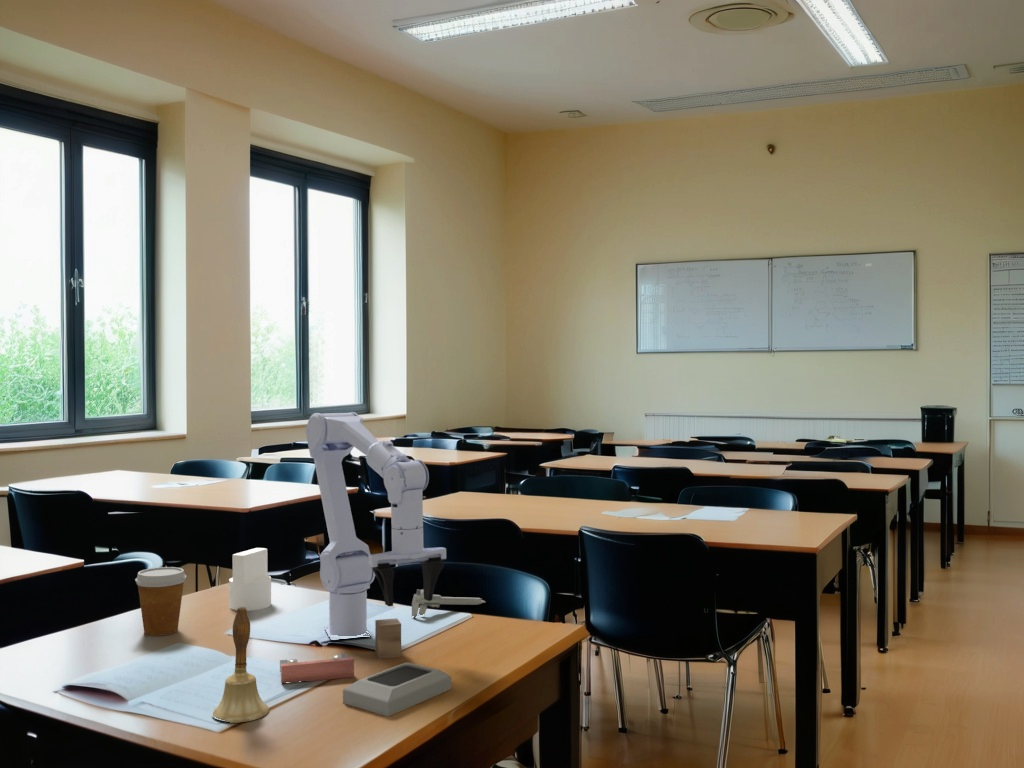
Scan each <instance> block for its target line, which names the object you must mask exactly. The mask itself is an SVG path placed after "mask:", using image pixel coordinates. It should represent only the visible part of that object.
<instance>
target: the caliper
mask: <svg viewBox="0 0 1024 768" xmlns="http://www.w3.org/2000/svg"><path fill="white" fill-rule="evenodd" d="M485 603H486V600H483V598H480V597H465V596H464V597H462V596H461V597H459V596H458V597H457V596H456V597H454V596H453V597H452V596H442V595H440V594H433V597H432V601H428V600H425V599H424V589H423V588H422V589H420V588H419V589H416V593H414V594H413V598H412V601H411V617H412V616H414V617H416V616H417V617H418V615H419V614H420V615H423V614H424V615H425V613H426V611H427V609H428V607H430V608H433V609H435V608H437V609H439V608H440V606H441V605H463V606H464V605H465V606H477V605H481V604H485Z"/></svg>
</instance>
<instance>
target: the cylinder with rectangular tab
mask: <svg viewBox="0 0 1024 768" xmlns="http://www.w3.org/2000/svg"><path fill="white" fill-rule="evenodd" d="M228 581H229V582H228V585H229V586H228V587H229V589H228V590H229V591H228V594H229V595H228V596H229V598H228V599H229V600H228V601H229V603H228V604H229V605H228V607H229V609H231V610H235V611H237V609H238V608H240V607H245V608H246V611H247V612H248V611H259V610H263V609H267V608H269V607H271V605H272V577H271V575H268V548H265V547H255V548H251V549H248V550H244V551H240V552H236V553H234V554H232V577H231V578H229V579H228Z"/></svg>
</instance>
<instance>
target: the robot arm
mask: <svg viewBox="0 0 1024 768" xmlns="http://www.w3.org/2000/svg"><path fill="white" fill-rule="evenodd" d="M363 419H364V418H363V417H362V416H359V414H358V413H357V412H354V411H349V412H335V413H334V412H332V413H331V412H330V413H320V412H313V414H311V415H310V417H309V418H308V421H307V425H306V427H305V436H306V442H307V446H308V451H309V455H310V457H311V459H313V462H314V467H315V472H316V477H317V483H318V488H319V493H320V496H321V497H320V499H321V502H322V503H321V504H322V508H323V513H324V519H325V522H326V523H325V524H326V528H327V529H326V530H327V533H328V538H329V543H328V545H326V547H325V548H324V549H323V551H322V552H321V553H320V554H319V562H320V564H319V565H320V568H319V577H320V582H321V584H322V585H323V587H324V588H325V589H326V591H328V592H329V600H328V603H329V605H328V607H329V608H328V610H329V611H328V615H329V616H328V617H329V618H328V620H329V622H328V625H325V626H324V627H323V628H325V629H324V631H325V630H326V631H325V633H326V632H327V633H326V635H327V634H328V635H329V636H331V635H338V636H357V635H361V634H364V633H366V634H367V635H366V634H365V635H363V636H371V637H372V633H371V632H370V631H369V629H368V627H367V623H368V622H367V621H368V619H367V617H368V616H367V615H368V613H367V611H368V609H367V608H368V607H367V605H368V604H367V603H368V602H367V600H368V598H367V597H368V593H367V591H368V589H371V584H372V583H373V582H374V580H375V578H376V579H377V580H378V583H379V586H380V588H381V591H382V595H383V599H384V605H386V606H388V607H393V606H394V577H395V571H396V570H395V569H394V568H392V566H391V565H398V564H406V563H414V562H415V563H416V562H420V565H421V572H422V578H423V590H424V599H425V600H428V601H432V597H433V595H434V591H435V587H436V584H437V581H438V579H439V576H440V573H441V572H442V570H443V568H444V560H447V548H446V547H442V546H441V547H440V546H439V547H424V516H423V515H424V510H423V509H424V503H423V502H424V501H423V499H424V498H423V497H424V496H423V491H425V490H426V489H427V487H428V484H429V483H430V482H429V481H430V476H429V475H430V473H429V469H428V467H427V466H426V463H424V462H423V460H421V459H414V460H413V459H411V458H410V459H409V457H408V456H407V455H406V454H405V453H403V452H401V451H400V450H398V448H396V447H395V446H394V443H393V442H392V441H391V440H378V439H377V438H376V437H375V435H373V434H372V433H371V432H370V431H369V430H368V429H367V427H365V426H364V420H363ZM354 448H356V449H357V450H358V451H359V452H361V453H362V454H364V455H365V456H366V458H365V460H366V463H367V465H368V466H369V467H370V468H371V469H372V470H373V471H374V472H376V473H377V474H378V475H379V476H380V477H381V478H382V479H383V485H384V488H385V489H386V492H387V500H388V502H389V503H390V510H391V511H390V515H391V517H390V518H391V521H390V522H391V551H386V552H385V551H384V552H381V553H380V552H379V553H374V554H372V553H371V551H370V548H369V545H368V544H367V543H365V542H364V541H362V540H361V539H359V538H358V537H357V535H356V534H357V533H356V529H355V524H354V519H353V515H352V511H351V510H352V508H351V505H350V500H349V496H348V488H347V484H346V479H345V475H344V470H343V465H342V462H343V459H344V458H345V457H346V456H348V455H350V453H351V452H352V451H353V449H354ZM367 629H368V630H367ZM366 631H368V632H369V633H370V634H371V635H370V634H369V633H367V632H366ZM368 634H369V635H368ZM328 635H327V636H328Z"/></svg>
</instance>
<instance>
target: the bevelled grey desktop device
mask: <svg viewBox="0 0 1024 768" xmlns="http://www.w3.org/2000/svg"><path fill="white" fill-rule="evenodd" d="M449 689H450V690H452V678H451V675H449V674H448V673H446V672H445V671H443V670H441V669H436V668H433V667H428V666H425V665H421V664H416V663H412V662H403V663H400V664H399V665H398V664H397V665H395V666H393V667H390V668H387V669H385V670H382V671H380V672H377V673H374V674H372V675H368V676H366V677H364V678H361V679H359V680H357V681H354V682H353V683H351V684H350V685H348V686H346V687H345V688H343V690H342V704H345V705H348V706H352V707H354V708H358V709H361V710H366V711H368V712H370V713H371V712H372V713H374V714H375V713H376V714H379V715H382V716H385V717H389V716H392V715H395V714H397V713H398V712H399V713H400V712H401V711H404V710H406V709H409V708H411V707H413V706H415V705H417V704H420V703H422V702H425V701H426V700H429V699H431V698H433V697H435V696H439V695H440V693H441V694H443V693H445V692H448V691H450V690H449ZM447 690H448V691H447ZM442 692H443V693H442Z"/></svg>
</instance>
